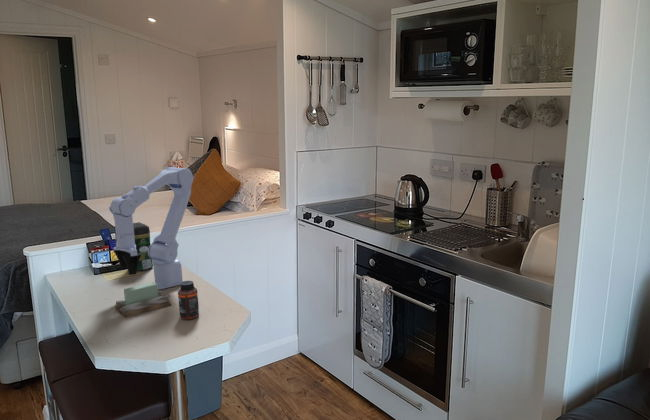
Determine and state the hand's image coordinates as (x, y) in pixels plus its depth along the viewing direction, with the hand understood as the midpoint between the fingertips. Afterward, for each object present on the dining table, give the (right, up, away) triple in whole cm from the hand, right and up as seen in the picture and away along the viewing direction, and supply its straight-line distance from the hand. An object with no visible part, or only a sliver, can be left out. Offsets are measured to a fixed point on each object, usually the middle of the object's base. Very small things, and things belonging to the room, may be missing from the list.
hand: (128, 271), depth 180 cm
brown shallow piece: (+7, -11, -6) cm, 14 cm away
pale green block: (+7, -10, -7) cm, 14 cm away
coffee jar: (-7, -3, +34) cm, 35 cm away
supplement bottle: (+25, -13, -15) cm, 32 cm away
